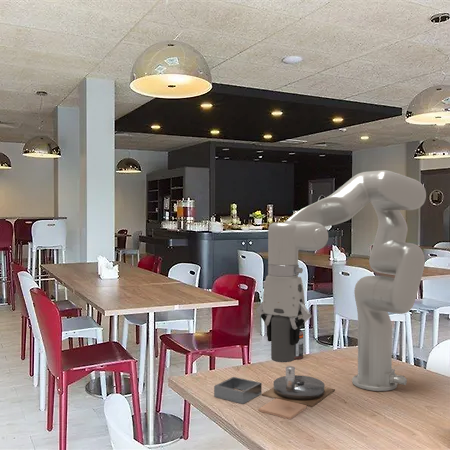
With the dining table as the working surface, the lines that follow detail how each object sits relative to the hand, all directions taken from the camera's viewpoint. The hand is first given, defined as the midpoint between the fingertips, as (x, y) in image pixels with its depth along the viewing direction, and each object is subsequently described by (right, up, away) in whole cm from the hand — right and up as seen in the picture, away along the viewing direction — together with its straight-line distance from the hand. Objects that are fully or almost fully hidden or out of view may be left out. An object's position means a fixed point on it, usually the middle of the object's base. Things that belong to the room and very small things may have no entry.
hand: (282, 341), depth 128 cm
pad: (0, -17, 0) cm, 17 cm away
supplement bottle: (+10, -17, +47) cm, 51 cm away
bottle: (0, -5, 0) cm, 5 cm away
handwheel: (+6, -17, +12) cm, 22 cm away
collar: (-11, -17, +11) cm, 23 cm away
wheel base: (+6, -17, +12) cm, 22 cm away
